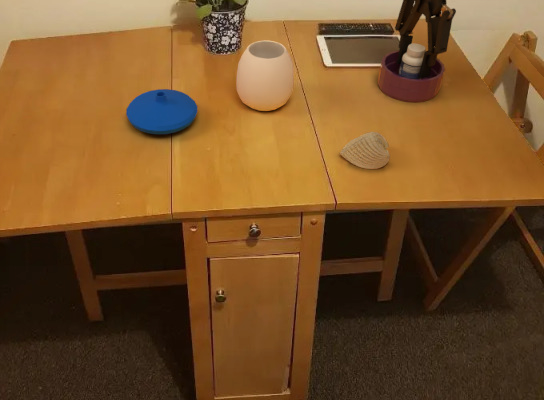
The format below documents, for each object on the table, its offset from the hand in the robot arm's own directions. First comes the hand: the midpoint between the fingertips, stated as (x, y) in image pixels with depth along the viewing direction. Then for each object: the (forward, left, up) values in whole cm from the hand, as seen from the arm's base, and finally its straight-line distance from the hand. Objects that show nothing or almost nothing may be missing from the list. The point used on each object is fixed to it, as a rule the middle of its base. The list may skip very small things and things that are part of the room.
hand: (412, 69), depth 137 cm
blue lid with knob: (+15, +58, -5) cm, 60 cm away
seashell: (-17, +26, -5) cm, 31 cm away
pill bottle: (0, 0, -4) cm, 4 cm away
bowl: (0, 0, -5) cm, 5 cm away
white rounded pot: (+11, +34, -5) cm, 36 cm away
